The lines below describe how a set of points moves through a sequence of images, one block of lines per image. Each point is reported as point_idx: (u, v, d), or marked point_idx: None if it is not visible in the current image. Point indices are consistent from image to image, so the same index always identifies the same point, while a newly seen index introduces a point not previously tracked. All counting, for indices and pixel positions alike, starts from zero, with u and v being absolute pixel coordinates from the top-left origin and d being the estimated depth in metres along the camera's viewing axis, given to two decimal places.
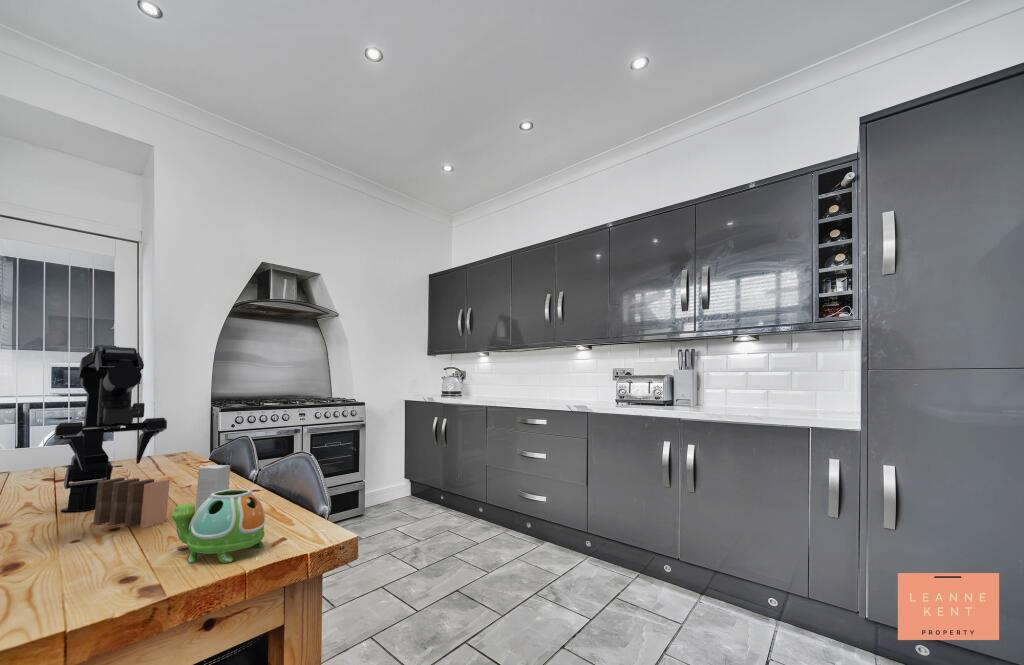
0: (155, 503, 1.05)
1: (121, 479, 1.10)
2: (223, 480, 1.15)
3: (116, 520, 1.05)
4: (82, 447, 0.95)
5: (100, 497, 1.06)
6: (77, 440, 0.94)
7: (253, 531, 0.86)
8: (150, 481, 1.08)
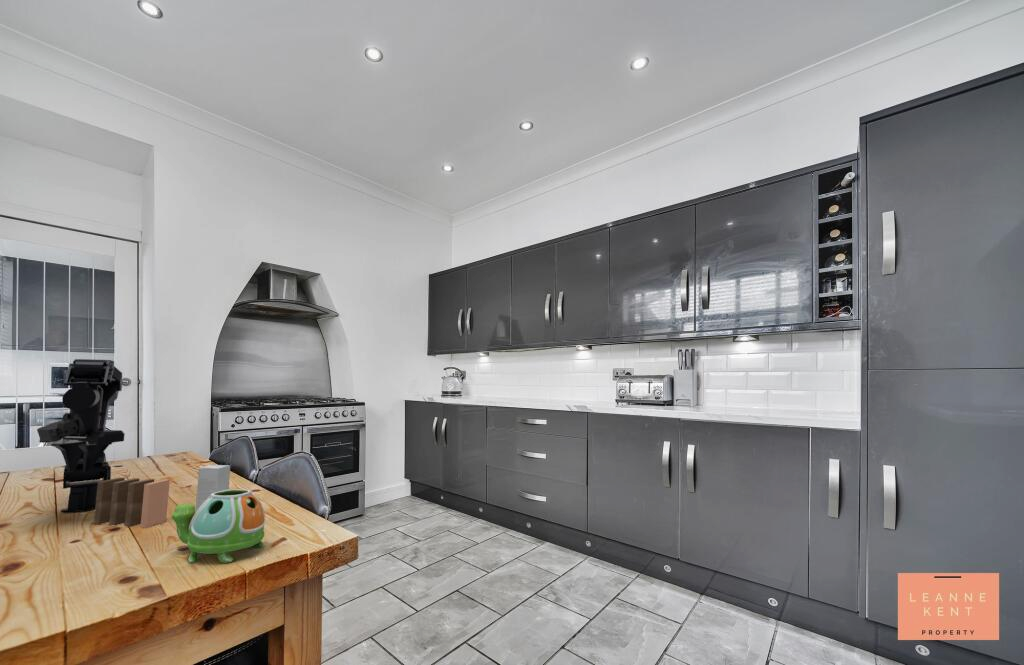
0: (155, 503, 1.05)
1: (121, 479, 1.10)
2: (223, 480, 1.15)
3: (116, 520, 1.05)
4: (65, 453, 1.08)
5: (100, 497, 1.06)
6: (58, 447, 1.08)
7: (253, 531, 0.86)
8: (150, 481, 1.08)
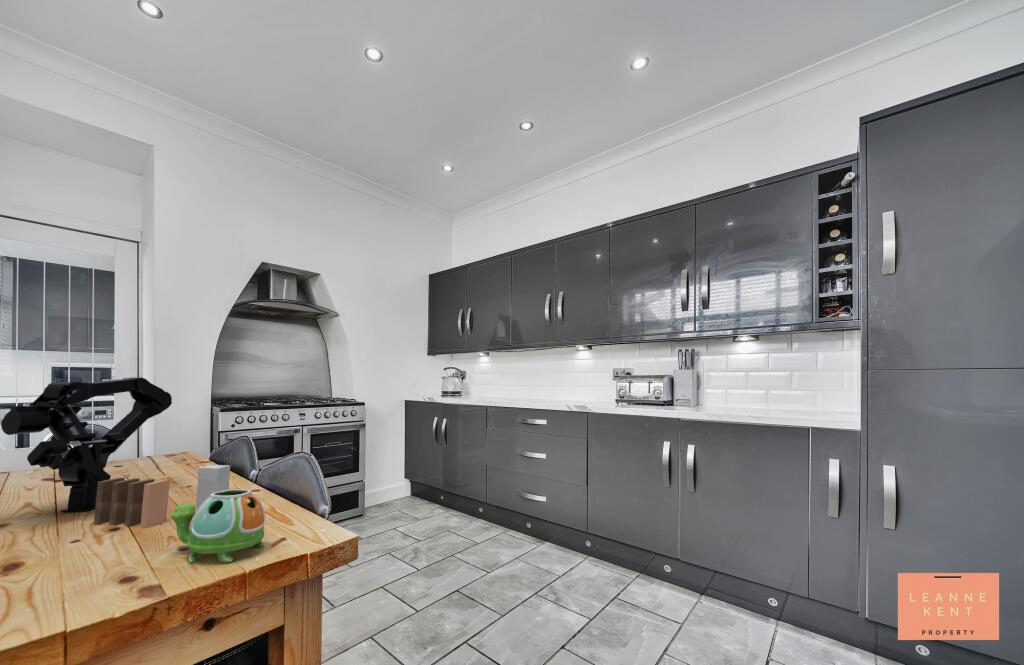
0: (155, 503, 1.05)
1: (121, 479, 1.10)
2: (223, 480, 1.15)
3: (116, 520, 1.05)
4: None
5: (100, 497, 1.06)
6: None
7: (253, 531, 0.86)
8: (150, 481, 1.08)
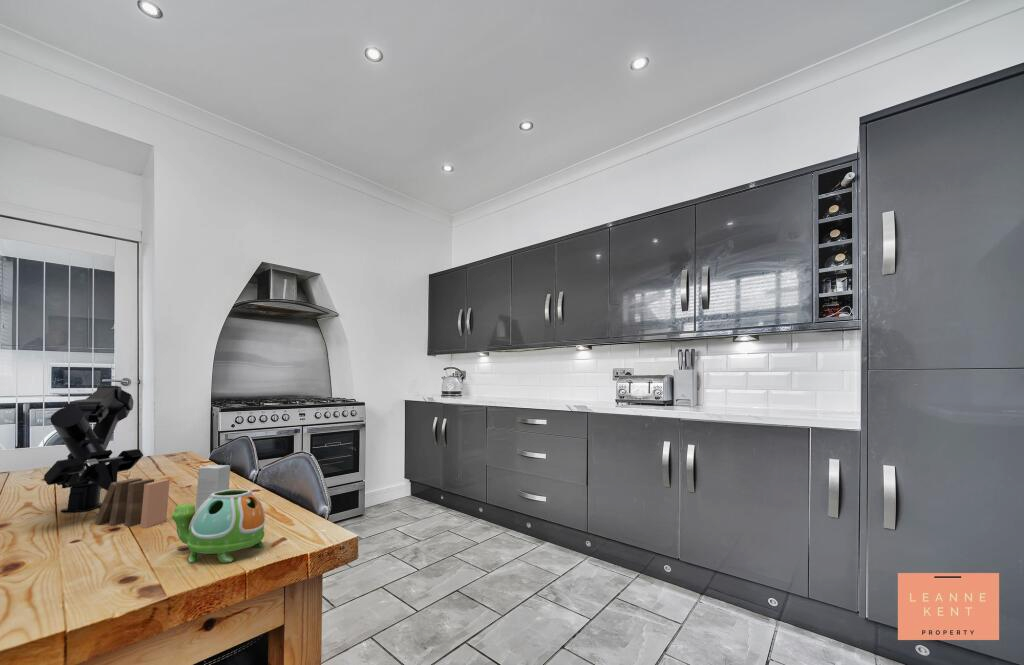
0: (155, 503, 1.05)
1: None
2: (223, 480, 1.15)
3: (116, 520, 1.05)
4: None
5: (108, 499, 1.05)
6: None
7: (253, 531, 0.86)
8: (150, 481, 1.08)
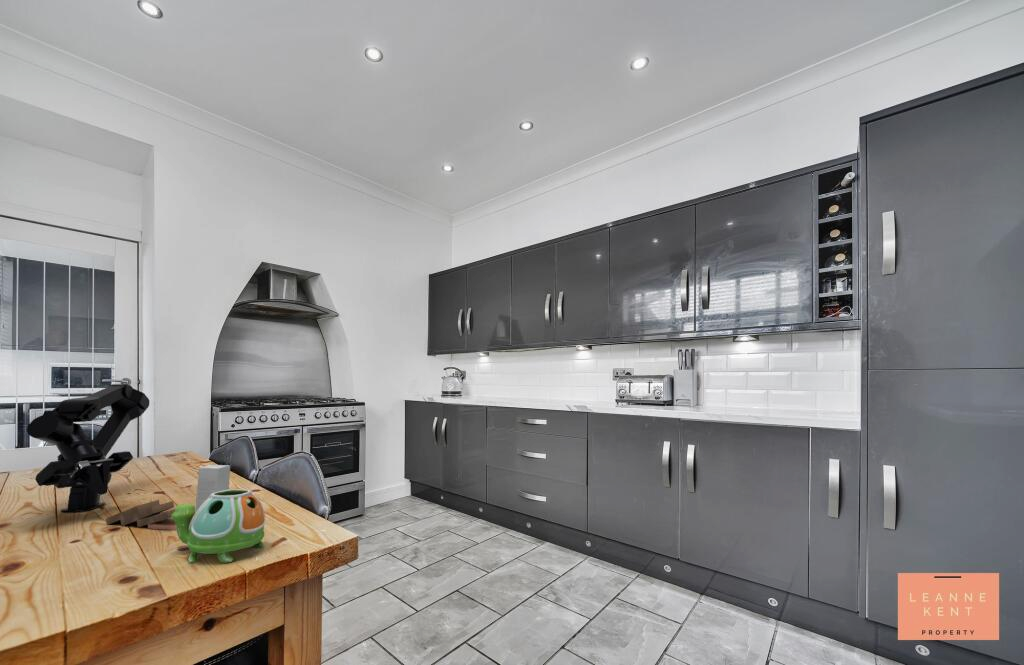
0: None
1: None
2: (223, 480, 1.15)
3: (126, 524, 1.04)
4: None
5: (126, 515, 1.04)
6: None
7: (253, 531, 0.86)
8: None
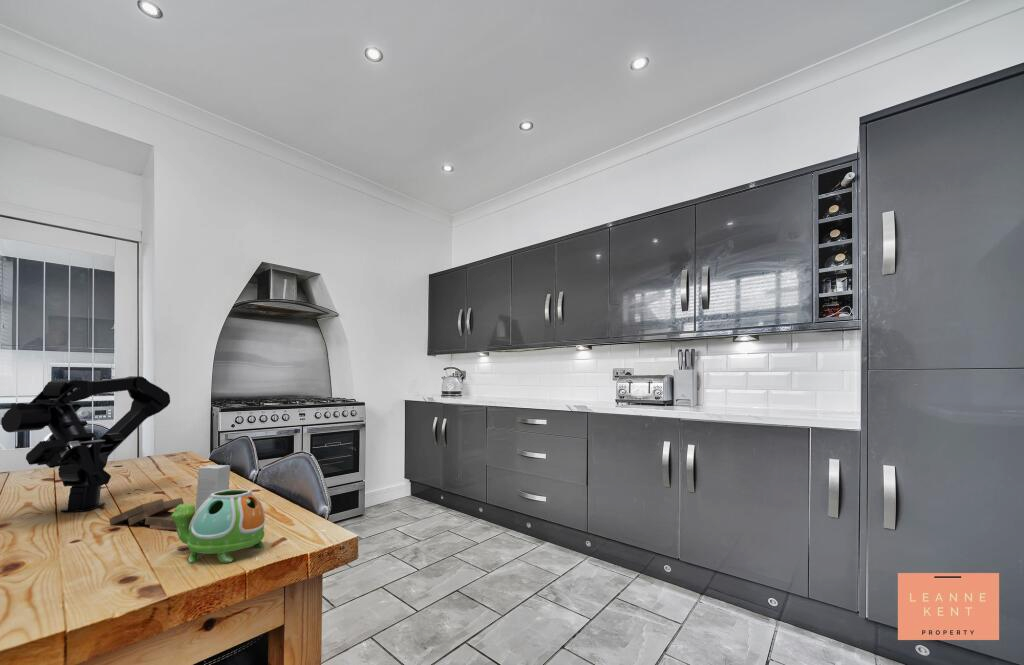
0: None
1: None
2: (223, 480, 1.15)
3: (134, 523, 1.04)
4: None
5: (131, 515, 1.04)
6: None
7: (253, 531, 0.86)
8: None
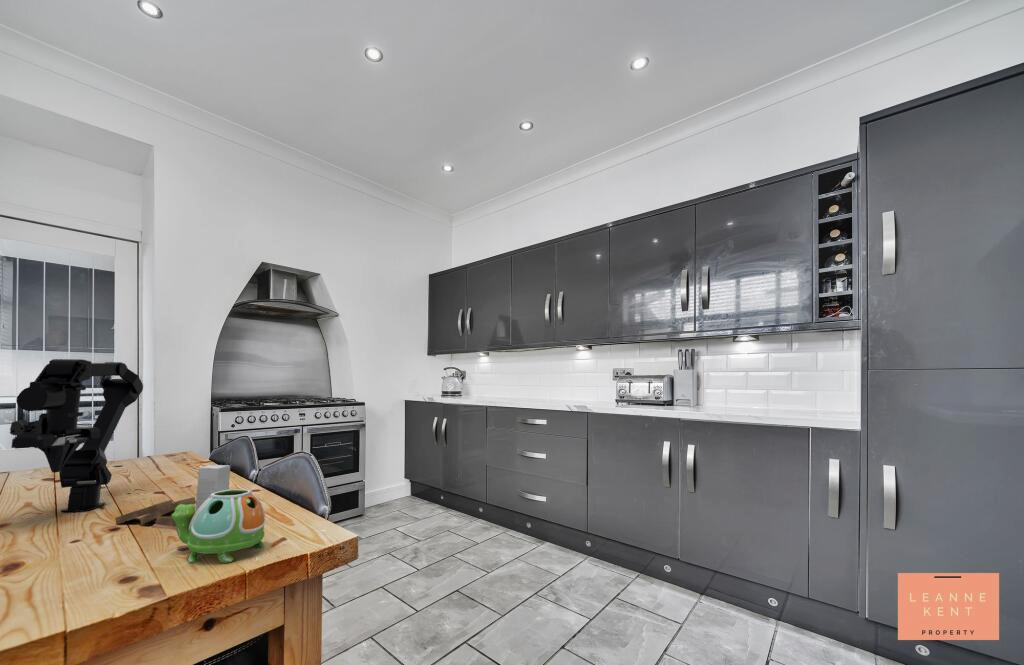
0: None
1: None
2: (223, 480, 1.15)
3: (146, 522, 1.04)
4: None
5: (142, 514, 1.05)
6: None
7: (253, 531, 0.86)
8: None
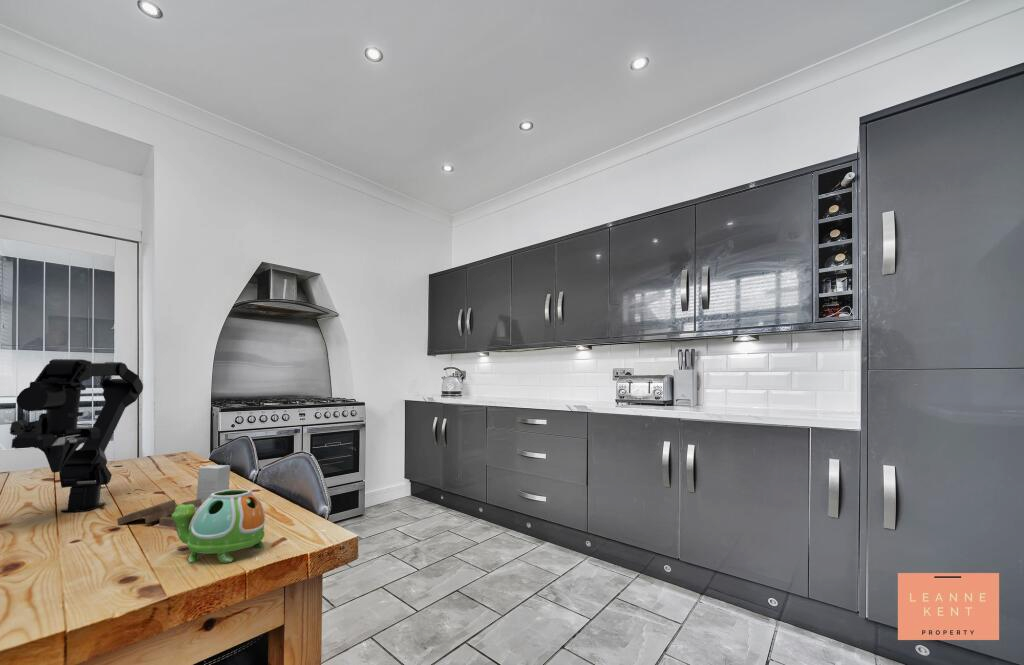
0: None
1: (172, 506, 1.10)
2: (223, 480, 1.15)
3: (151, 521, 1.04)
4: None
5: (146, 515, 1.05)
6: None
7: (253, 531, 0.86)
8: None
